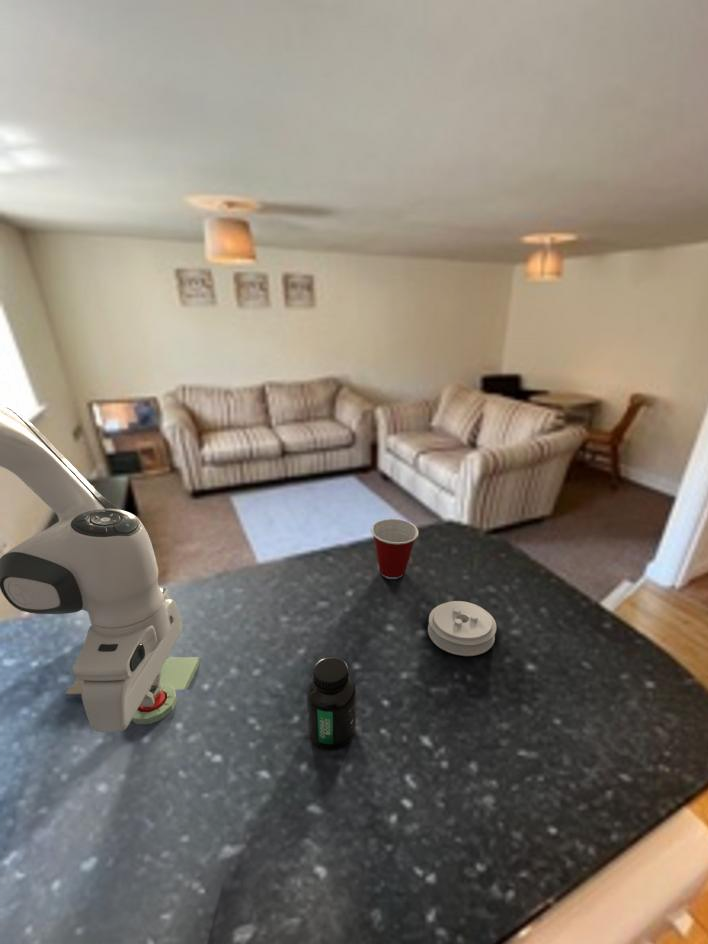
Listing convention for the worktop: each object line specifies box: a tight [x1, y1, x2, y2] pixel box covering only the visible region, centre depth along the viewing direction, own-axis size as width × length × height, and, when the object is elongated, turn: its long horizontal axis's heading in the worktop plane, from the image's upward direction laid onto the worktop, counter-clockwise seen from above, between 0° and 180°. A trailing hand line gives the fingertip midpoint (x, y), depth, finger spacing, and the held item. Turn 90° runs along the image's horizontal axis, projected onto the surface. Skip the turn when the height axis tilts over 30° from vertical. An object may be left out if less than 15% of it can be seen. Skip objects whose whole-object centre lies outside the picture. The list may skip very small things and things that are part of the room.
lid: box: [427, 600, 497, 657], centre depth 85 cm, size 13×13×5 cm
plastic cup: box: [370, 518, 419, 577], centre depth 103 cm, size 11×11×12 cm
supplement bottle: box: [306, 656, 357, 751], centre depth 64 cm, size 7×7×12 cm
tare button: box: [138, 691, 167, 712], centre depth 67 cm, size 4×4×2 cm
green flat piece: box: [130, 656, 201, 725], centre depth 70 cm, size 16×14×3 cm
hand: (152, 699), depth 66 cm, fingers closed, pressing on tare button
